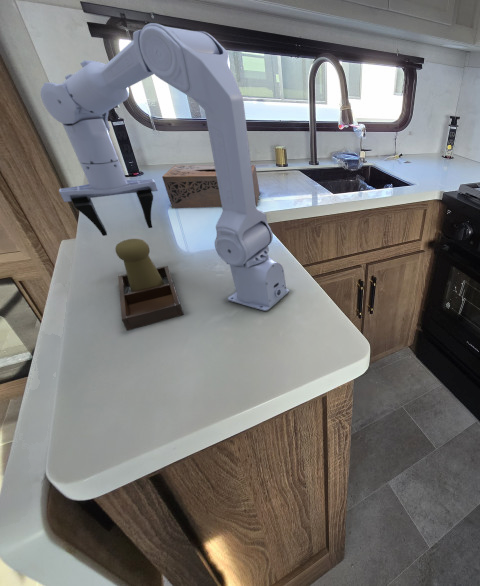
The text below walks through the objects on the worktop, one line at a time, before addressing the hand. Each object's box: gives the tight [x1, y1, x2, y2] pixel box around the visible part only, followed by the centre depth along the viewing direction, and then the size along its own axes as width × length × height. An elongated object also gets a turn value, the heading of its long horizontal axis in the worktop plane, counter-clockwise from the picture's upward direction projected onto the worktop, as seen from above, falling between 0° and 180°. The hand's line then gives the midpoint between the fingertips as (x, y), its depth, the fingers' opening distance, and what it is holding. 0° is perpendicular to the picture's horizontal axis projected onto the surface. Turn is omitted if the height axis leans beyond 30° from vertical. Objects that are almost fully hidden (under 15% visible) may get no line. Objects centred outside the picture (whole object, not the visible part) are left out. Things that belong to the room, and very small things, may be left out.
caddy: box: [117, 265, 184, 331], centre depth 65 cm, size 17×9×2 cm, turn 36°
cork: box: [114, 238, 166, 292], centre depth 65 cm, size 6×6×11 cm
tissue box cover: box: [161, 164, 261, 209], centre depth 113 cm, size 26×14×10 cm, turn 104°
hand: (128, 229), depth 68 cm, fingers open, 7 cm apart
